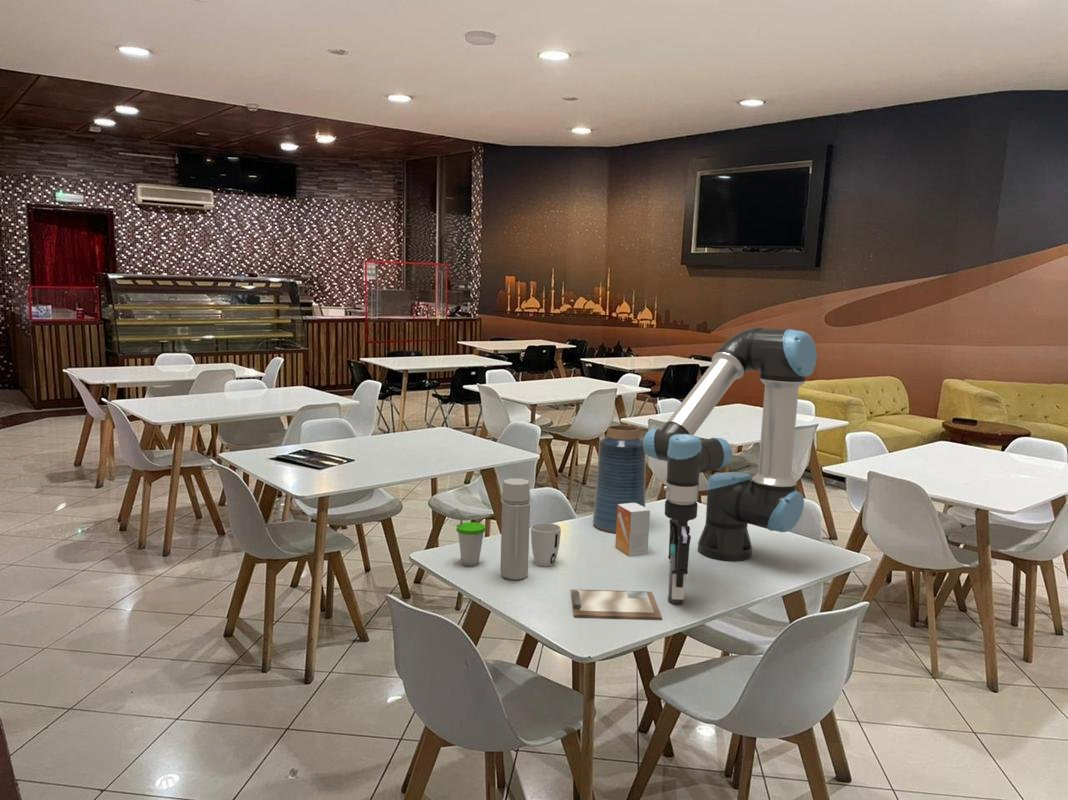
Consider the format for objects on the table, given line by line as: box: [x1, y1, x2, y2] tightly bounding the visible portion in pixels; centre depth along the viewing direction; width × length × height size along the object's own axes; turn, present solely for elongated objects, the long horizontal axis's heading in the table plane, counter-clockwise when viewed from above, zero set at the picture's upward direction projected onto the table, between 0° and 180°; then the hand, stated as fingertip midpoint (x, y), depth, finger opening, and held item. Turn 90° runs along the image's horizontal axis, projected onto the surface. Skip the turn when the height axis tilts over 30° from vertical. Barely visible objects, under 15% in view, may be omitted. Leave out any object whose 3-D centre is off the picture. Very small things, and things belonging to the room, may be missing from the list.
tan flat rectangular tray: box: [570, 588, 663, 621], centre depth 183 cm, size 20×15×2 cm
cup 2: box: [530, 522, 562, 567], centre depth 209 cm, size 8×8×10 cm
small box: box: [614, 503, 651, 557], centre depth 221 cm, size 8×6×13 cm
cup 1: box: [455, 507, 486, 568], centre depth 206 cm, size 8×8×15 cm
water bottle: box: [499, 477, 533, 581], centre depth 197 cm, size 9×8×25 cm
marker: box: [667, 543, 684, 605], centre depth 185 cm, size 4×4×14 cm
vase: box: [592, 424, 647, 534], centre depth 242 cm, size 16×16×32 cm
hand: (676, 595), depth 186 cm, fingers closed on marker, 3 cm apart
